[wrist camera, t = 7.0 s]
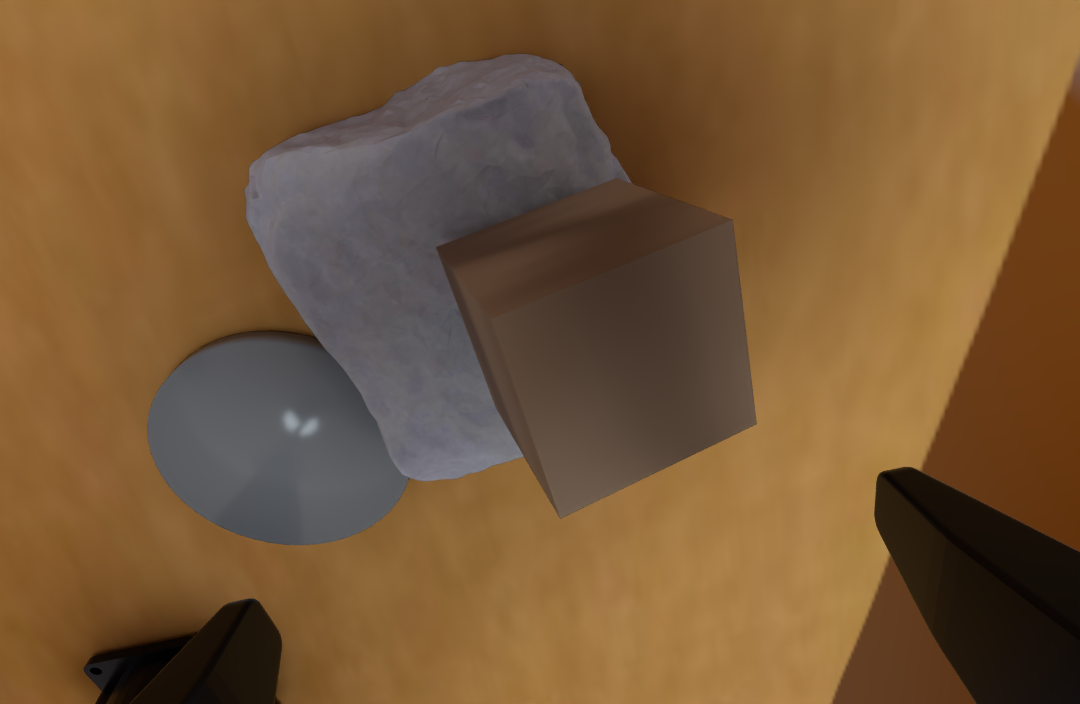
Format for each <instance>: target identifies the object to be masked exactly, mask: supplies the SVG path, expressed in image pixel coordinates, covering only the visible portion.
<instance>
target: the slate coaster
mask: <svg viewBox="0 0 1080 704" xmlns="http://www.w3.org/2000/svg"><path fill="white" fill-rule="evenodd" d="M147 428H148V441H149V445H150V450H151V454H152V456H153V459H154V461H155V464H156V466H157V468H158V470H159V472H160V473H161V475H162V477H163V478H164V480H165V481H166V483H167V484H168V485H169V486H170V488H171V489H172V490H173V492H174V493H175V494H176V495H177V496H178V497H179V498H180V499H181V500H182V501H183V502H184V503H186V504H187V505H188V506H189V507H191V508H192V509H193V510H194V511H195V512H197V513H198V514H200V515H201V516H203V517H204V518H206V519H207V520H209V521H211V522H213V523H215V524H216V525H218V526H220V527H222V528H224V529H227V530H229V531H231V532H234V533H236V534H239V535H242V536H245V537H248V538H252V539H255V540H260V541H265V542H269V543H277V544H285V545H310V544H320V543H327V542H332V541H336V540H340V539H344V538H347V537H349V536H352V535H354V534H357V533H359V532H361V531H363V530H365V529H367V528H369V527H370V526H372V525H373V524H375V523H376V522H378V521H379V520H381V519H382V518H383V517H384V516H385V515H386V514H387V513H388V512H389V511H390V510H391V509H392V508H393V507H394V505H395V504H396V503H397V502H398V500H399V499H400V497H401V495H402V493H403V492H404V490H405V487H406V484H407V482H408V479H409V477H407V476H404V475H402V474H401V472H400V471H399V470H398V468H397V467H396V466H395V464H394V463H393V461H392V460H391V458H390V456H389V454H388V452H387V449H386V446H385V443H384V440H383V438H382V435H381V432H380V430H379V427H378V424H377V421H376V420H375V418H374V417H373V416H372V414H371V413H370V412H369V410H368V408H367V406H366V404H365V402H364V399H363V397H362V395H361V393H360V392H359V390H358V389H357V387H356V386H355V384H354V383H353V381H352V380H351V379H350V377H349V376H348V374H347V373H346V372H345V371H344V369H343V368H342V367H341V366H340V364H339V363H338V362H337V361H336V360H335V359H334V358H333V357H332V356H331V355H330V354H329V353H328V351H327V350H326V349H325V348H324V347H323V345H322V344H321V343H320V342H319V340H318V339H317V338H313V337H310V336H306V335H301V334H295V333H290V332H278V331H257V332H247V333H241V334H235V335H231V336H228V337H225V338H221V339H218V340H216V341H214V342H211V343H209V344H207V345H205V346H203V347H201V348H200V349H198V350H197V351H195V352H193V353H192V354H190V355H189V356H188V357H187V358H186V359H185V360H184V361H183V362H181V363H180V364H179V365H178V367H177V368H176V369H175V370H174V371H173V372H172V373H171V375H170V376H169V377H168V378H167V379H166V381H165V382H164V383H163V384H162V386H161V387H160V388H159V390H158V392H157V394H156V396H155V398H154V400H153V402H152V405H151V409H150V412H149V418H148V426H147Z"/></svg>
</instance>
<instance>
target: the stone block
mask: <svg viewBox="0 0 1080 704" xmlns="http://www.w3.org/2000/svg"><path fill="white" fill-rule="evenodd" d="M615 178H618V179H621V180H624V181H626V182H629V183H632V182H631V181H630V179H629V177H628V176H627V174H626V173H625V171H624V170H623V168H622V167H621V165H620V163H619V161H618V159H617V158H616V157H615V156H614V155H613V153H612V152H611V145H610V142H609V140H608V137H607V136H606V134H605V133H604V132H603V131H602V130H601V129H600V128H599V127H598V125H597V124H596V122H595V121H594V119H593V117H592V114H591V112H590V109H589V107H588V105H587V103H586V101H585V99H584V96H583V92H582V89H581V86H580V84H579V82H578V81H575V79H574V76H573V75H572V73H571V72H570V71H568V70H567V69H565V68H564V67H563V66H562V65H561V64H558V63H556V62H554V61H552V60H549V59H544V58H541V57H539V56H534V55H529V54H522V53H520V54H514V55H502V56H499V57H496V58H493V59H488V60H481V61H472V62H464V61H461V62H458V63H455V64H453V65H449V66H442V67H438V68H436V69H435V70H434V71H433V72H432V73H431V74H429V75H428V76H426V77H424V78H423V79H421V80H420V81H419V82H417V83H416V84H414V85H413V86H410V87H409V88H408V89H406V90H403V91H397V92H396V93H395V94H394V95H393V97H392V98H391V99H390V100H389V101H388V102H387V103H386V104H385V105H384V106H383V107H381V108H379V109H376V110H373V111H370V112H368V113H366V114H364V115H360V116H354V117H349V118H348V119H346V120H340V121H338V122H335V123H332V124H330V125H327V126H323V127H320V128H317V129H315V130H312V131H309V132H306V133H300V134H298V135H296V136H293V137H291V138H289V139H287V140H285V141H283V142H282V143H280V144H278V145H276V146H273V147H272V148H271V149H269V150H267V151H266V152H265V153H264V154H263V155H262V156H261V157H260V158H259V159H257V160H255V161H253V162H252V164H251V165H250V167H249V184H248V185H247V187H246V188H245V197H246V200H247V202H246V220H247V222H248V224H249V226H250V228H251V230H252V232H253V234H254V237H255V238H256V240H257V242H258V244H259V245H260V247H261V250H262V252H263V254H264V256H265V259H266V261H267V264H268V266H269V268H270V269H271V271H272V273H273V275H274V276H275V278H276V280H277V281H278V283H279V284H280V286H281V287H282V289H283V291H284V292H285V294H286V295H287V296H288V298H289V299H290V301H291V302H292V303H293V305H294V306H295V307H296V309H297V310H298V312H299V314H300V315H301V317H302V319H303V321H304V322H305V323H306V324H307V326H308V327H309V328H310V330H311V331H312V332H313V334H314V335H315V336H316V338H317V339H318V340H319V342H320V343H321V344H322V345H323V347H324V348H325V349H326V350H327V351H328V353H329V354H330V355H331V356H332V357H333V358H334V359H335V360H336V361H337V362H338V363H339V364H340V366H341V367H342V368H343V369H344V371H345V372H346V373H347V374H348V376H349V377H350V379H351V380H352V381H353V383H354V384H355V386H356V387H357V389H358V390H359V392H360V393H361V395H362V397H363V399H364V402H365V404H366V406H367V408H368V410H369V412H370V413H371V414H372V416H373V417H374V418H375V420H376V421H377V424H378V427H379V430H380V432H381V435H382V438H383V440H384V443H385V446H386V449H387V452H388V454H389V456H390V458H391V460H392V461H393V463H394V464H395V466H396V467H397V468H398V470H399V471H400V472H401V474H402V475H404V476H407V477H410V478H412V479H416V480H420V481H432V480H440V479H456V478H460V477H463V476H464V475H466V474H470V473H475V472H479V471H482V470H484V469H486V468H488V467H491V466H493V465H497V464H501V463H505V462H508V461H511V460H514V459H517V458H521V457H524V456H523V454H522V452H521V450H520V449H519V447H518V445H517V444H516V442H515V440H514V438H513V437H512V435H511V433H510V432H509V430H508V428H507V426H506V425H505V423H504V421H503V420H502V418H501V416H500V414H499V413H498V411H497V409H496V407H495V404H494V402H493V399H492V396H491V394H490V391H489V388H488V386H487V383H486V380H485V378H484V375H483V372H482V369H481V367H480V364H479V361H478V359H477V356H476V353H475V351H474V348H473V345H472V343H471V340H470V337H469V335H468V332H467V329H466V327H465V324H464V321H463V319H462V316H461V313H460V311H459V308H458V305H457V303H456V300H455V297H454V295H453V292H452V289H451V286H450V284H449V281H448V278H447V276H446V273H445V270H444V268H443V265H442V262H441V260H440V257H439V254H438V252H437V249H436V247H437V246H440V245H443V244H445V243H448V242H450V241H453V240H456V239H458V238H461V237H464V236H466V235H469V234H471V233H474V232H477V231H479V230H482V229H485V228H487V227H490V226H492V225H495V224H498V223H500V222H503V221H505V220H508V219H511V218H513V217H516V216H519V215H521V214H524V213H526V212H529V211H532V210H534V209H537V208H539V207H542V206H545V205H547V204H550V203H553V202H555V201H558V200H560V199H563V198H566V197H568V196H571V195H574V194H576V193H579V192H581V191H584V190H587V189H589V188H592V187H594V186H597V185H600V184H602V183H605V182H608V181H610V180H613V179H615Z"/></svg>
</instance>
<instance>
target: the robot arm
mask: <svg viewBox="0 0 1080 704" xmlns="http://www.w3.org/2000/svg"><path fill="white" fill-rule="evenodd" d="M874 516H875V522H876V526H877V528H878V531H879V533H880V535H881V537H882V539H883V541H884V543H885V545H886V547H887V549H888V551H889V553H890V555H891V556H892V558H893V560H894V562H895V564H896V566H897V568H898V570H899V572H900V574H901V576H902V578H903V580H904V582H905V584H906V586H907V588H908V590H909V592H910V594H911V595H912V597H913V599H914V601H915V603H916V605H917V607H918V609H919V611H920V613H921V615H922V617H923V619H924V621H925V623H926V624H927V626H928V628H929V630H930V632H931V634H932V635H933V637H934V639H935V640H936V642H937V643H938V645H939V647H940V648H941V650H942V652H943V653H944V654H945V656H946V658H947V659H948V661H949V662H950V664H951V665H952V667H953V668H954V670H955V671H956V673H957V675H958V676H959V678H960V679H961V681H962V682H963V684H964V685H965V687H966V688H967V690H968V691H969V693H970V695H971V696H972V698H973V699H974V701H975V702H976V704H1080V552H1079V551H1077V550H1075V549H1073V548H1071V547H1069V546H1067V545H1065V544H1063V543H1061V542H1059V541H1057V540H1055V539H1053V538H1051V537H1049V536H1047V535H1045V534H1043V533H1041V532H1039V531H1037V530H1035V529H1033V528H1031V527H1030V526H1028V525H1025V524H1023V523H1022V522H1020V521H1018V520H1016V519H1014V518H1012V517H1010V516H1008V515H1006V514H1004V513H1002V512H1000V511H998V510H996V509H994V508H992V507H990V506H988V505H986V504H984V503H982V502H980V501H978V500H976V499H974V498H972V497H970V496H968V495H966V494H964V493H962V492H960V491H959V490H957V489H955V488H953V487H951V486H949V485H947V484H945V483H943V482H941V481H939V480H937V479H935V478H933V477H931V476H929V475H927V474H925V473H923V472H921V471H919V470H917V469H915V468H912V467H902V468H897V469H892V470H887V471H883V472H881V473H880V474H879V475H878V477H877V482H876V496H875V511H874ZM281 652H282V640H281V636H280V633H279V631H278V629H277V627H276V626H275V624H274V623H273V621H272V620H271V618H270V617H269V615H268V614H267V612H266V611H265V609H264V608H263V606H262V605H261V604H260V602H259V601H257V600H255V599H245V600H240V601H236V602H231V603H228V604H226V605H224V606H223V607H222V608H221V609H220V610H219V611H218V612H217V613H216V614H215V615H214V616H213V617H212V618H211V619H210V620H209V621H208V622H207V623H206V624H205V626H204V627H203V628H202V629H201V630H200V631H199V632H198V633H197V634H196V635H195V636H191V637H186V638H182V639H177V640H172V641H167V642H162V643H157V644H152V645H147V646H142V647H137V648H132V649H127V650H122V651H117V652H113V653H108V654H103V655H98V656H94V657H91V658H90V659H89V661H88V662H87V664H86V665H85V667H84V672H85V673H86V675H87V676H88V677H89V678H90V679H91V680H92V681H93V682H94V683H95V684H96V685H97V686H98V687H99V688H100V689H101V690H102V693H101V694H100V696H99V698H98V700H97V701H96V703H95V704H277V703H276V702H275V696H276V689H277V681H278V674H279V667H280V659H281Z"/></svg>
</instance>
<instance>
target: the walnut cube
mask: <svg viewBox="0 0 1080 704" xmlns="http://www.w3.org/2000/svg"><path fill="white" fill-rule="evenodd" d="M436 249H437V252H438V254H439V257H440V260H441V262H442V265H443V268H444V270H445V273H446V276H447V278H448V281H449V284H450V286H451V289H452V292H453V295H454V297H455V300H456V303H457V305H458V308H459V311H460V313H461V316H462V319H463V321H464V324H465V327H466V329H467V332H468V335H469V337H470V340H471V343H472V345H473V348H474V351H475V353H476V356H477V359H478V361H479V364H480V367H481V369H482V372H483V375H484V378H485V380H486V383H487V386H488V388H489V391H490V394H491V396H492V399H493V402H494V404H495V407H496V409H497V411H498V413H499V414H500V416H501V418H502V420H503V421H504V423H505V425H506V426H507V428H508V430H509V432H510V433H511V435H512V437H513V438H514V440H515V442H516V444H517V445H518V447H519V449H520V450H521V452H522V454H523V456H524V457H525V459H526V461H527V462H528V464H529V466H530V468H531V469H532V471H533V473H534V474H535V476H536V478H537V480H538V481H539V483H540V485H541V486H542V488H543V490H544V492H545V493H546V495H547V497H548V498H549V500H550V502H551V504H552V505H553V507H554V509H555V511H556V512H557V514H558V516H559V517H560V519H561V518H563V517H565V516H567V515H569V514H571V513H573V512H575V511H577V510H579V509H582V508H584V507H586V506H588V505H590V504H592V503H594V502H596V501H598V500H600V499H602V498H604V497H606V496H609V495H611V494H613V493H615V492H617V491H619V490H621V489H623V488H625V487H627V486H629V485H631V484H633V483H635V482H638V481H640V480H642V479H644V478H646V477H648V476H650V475H652V474H654V473H656V472H658V471H660V470H662V469H665V468H667V467H669V466H671V465H673V464H675V463H677V462H679V461H681V460H683V459H685V458H687V457H689V456H692V455H694V454H696V453H698V452H700V451H702V450H704V449H706V448H708V447H710V446H712V445H714V444H716V443H718V442H721V441H723V440H725V439H727V438H729V437H731V436H733V435H735V434H737V433H739V432H741V431H743V430H745V429H748V428H750V427H752V426H754V425H756V424H757V423H756V415H755V406H754V398H753V389H752V381H751V372H750V364H749V355H748V347H747V338H746V329H745V321H744V312H743V304H742V295H741V287H740V278H739V270H738V261H737V253H736V244H735V236H734V227H733V220H732V219H729V218H726V217H723V216H720V215H718V214H715V213H712V212H709V211H707V210H704V209H701V208H698V207H696V206H693V205H690V204H687V203H685V202H682V201H679V200H676V199H673V198H671V197H668V196H665V195H662V194H660V193H657V192H654V191H651V190H649V189H646V188H643V187H640V186H637V185H635V184H632V183H629V182H626V181H624V180H621V179H618V178H615V179H613V180H610V181H608V182H605V183H602V184H600V185H597V186H594V187H592V188H589V189H587V190H584V191H581V192H579V193H576V194H574V195H571V196H568V197H566V198H563V199H560V200H558V201H555V202H553V203H550V204H547V205H545V206H542V207H539V208H537V209H534V210H532V211H529V212H526V213H524V214H521V215H519V216H516V217H513V218H511V219H508V220H505V221H503V222H500V223H498V224H495V225H492V226H490V227H487V228H485V229H482V230H479V231H477V232H474V233H471V234H469V235H466V236H464V237H461V238H458V239H456V240H453V241H450V242H448V243H445V244H443V245H440V246H437V247H436Z"/></svg>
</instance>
